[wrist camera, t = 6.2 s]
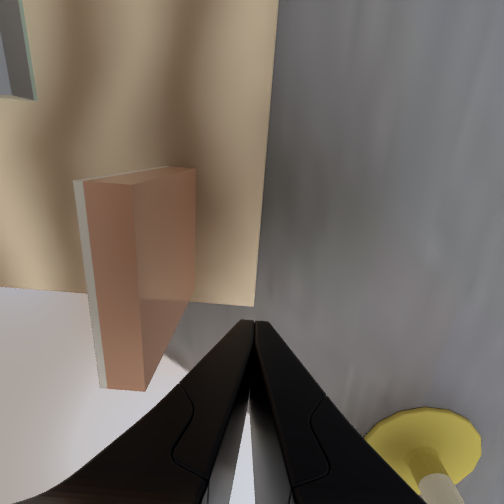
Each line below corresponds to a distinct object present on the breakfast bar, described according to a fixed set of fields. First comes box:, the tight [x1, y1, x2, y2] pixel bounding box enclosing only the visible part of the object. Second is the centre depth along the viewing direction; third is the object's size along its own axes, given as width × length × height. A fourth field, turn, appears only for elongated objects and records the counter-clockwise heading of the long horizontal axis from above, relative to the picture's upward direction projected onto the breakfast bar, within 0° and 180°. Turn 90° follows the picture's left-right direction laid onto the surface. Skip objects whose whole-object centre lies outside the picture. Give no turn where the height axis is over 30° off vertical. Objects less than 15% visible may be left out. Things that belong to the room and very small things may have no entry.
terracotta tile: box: [73, 166, 196, 392], centre depth 14 cm, size 2×8×9 cm, turn 176°
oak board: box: [0, 0, 279, 307], centre depth 17 cm, size 23×21×1 cm
